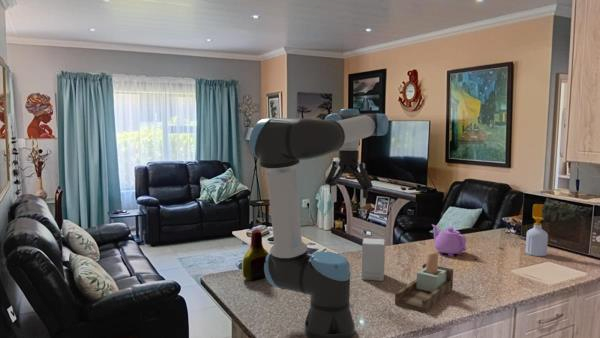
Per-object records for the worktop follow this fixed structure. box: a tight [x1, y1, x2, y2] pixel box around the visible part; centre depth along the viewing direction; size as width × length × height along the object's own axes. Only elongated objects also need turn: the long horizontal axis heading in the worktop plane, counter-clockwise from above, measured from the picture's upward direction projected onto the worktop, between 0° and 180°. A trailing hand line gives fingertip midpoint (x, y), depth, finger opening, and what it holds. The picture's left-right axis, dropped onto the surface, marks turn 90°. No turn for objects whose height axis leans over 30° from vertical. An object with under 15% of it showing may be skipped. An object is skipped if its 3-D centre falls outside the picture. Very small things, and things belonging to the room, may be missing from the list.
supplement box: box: [361, 237, 386, 282], centre depth 184 cm, size 9×9×15 cm
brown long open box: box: [394, 263, 454, 313], centre depth 163 cm, size 26×11×8 cm, turn 142°
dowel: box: [425, 251, 439, 275], centre depth 168 cm, size 4×4×11 cm
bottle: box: [241, 228, 269, 281], centre depth 181 cm, size 12×6×20 cm, turn 120°
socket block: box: [416, 267, 447, 292], centre depth 168 cm, size 9×8×6 cm
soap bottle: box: [525, 203, 549, 257], centre depth 217 cm, size 9×9×25 cm
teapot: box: [431, 224, 467, 258], centre depth 218 cm, size 20×14×12 cm
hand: (347, 204), depth 175 cm, fingers open, 13 cm apart
